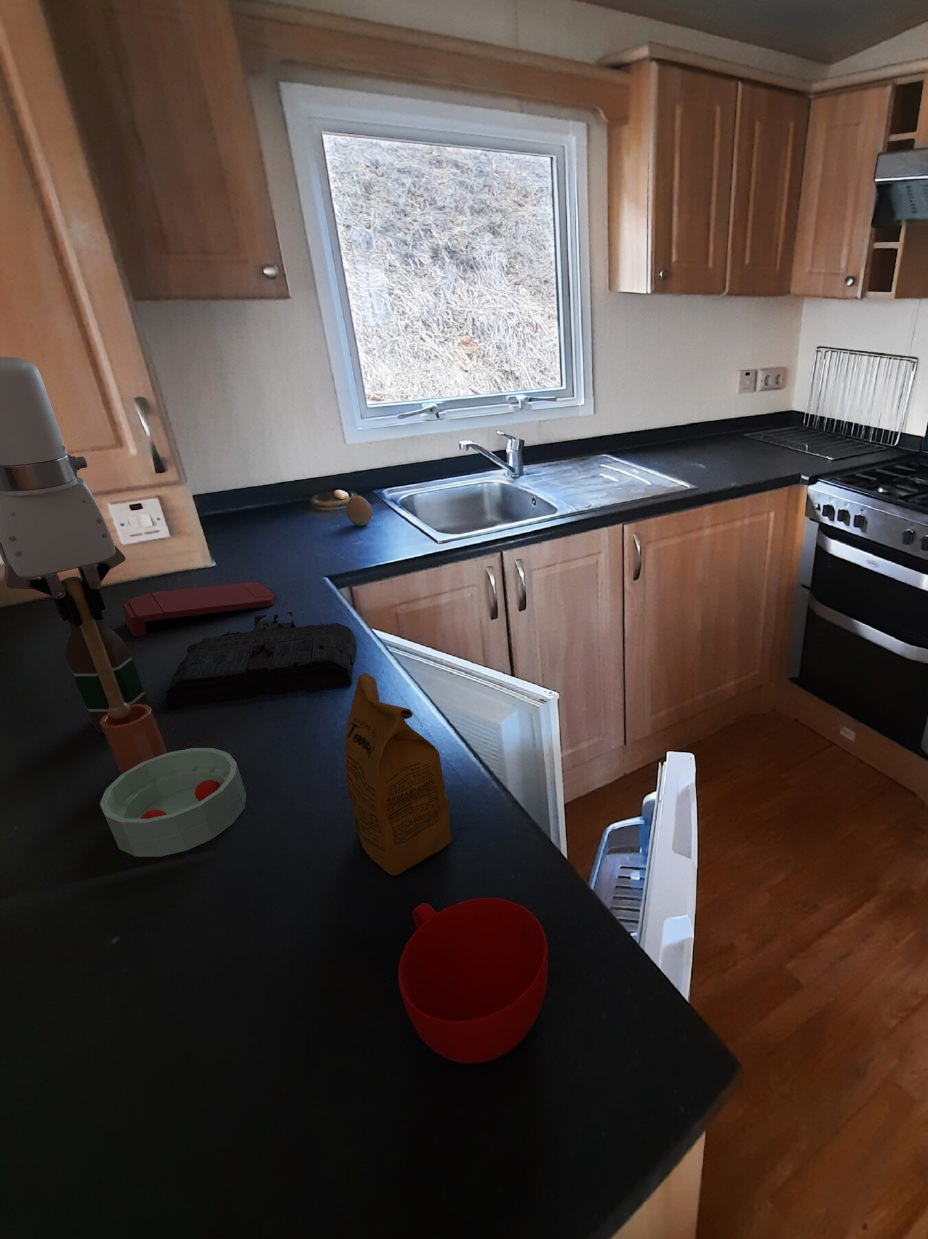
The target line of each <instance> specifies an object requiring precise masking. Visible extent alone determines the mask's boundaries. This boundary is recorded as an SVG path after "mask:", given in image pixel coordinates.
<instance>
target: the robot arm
mask: <svg viewBox="0 0 928 1239" xmlns="http://www.w3.org/2000/svg"><path fill="white" fill-rule="evenodd" d="M87 468H88V462H87V460H86V457H84V456H72V455H71V454H69V452H68V450H67V447H66V444H65V442H64V438H63V435H62V432H61V429H60V426H59V424H58V421H57V418H56V414H55V411H54V409H53V406H52V404H51V400H50V397H49V394H48V391H47V388H46V384H45V383H44V379H43V377H42V374H41V372H40V370H39V368H38V367H37V366H36V365H35V364H34V363H33V362H32V361H29V360H27V359H25V358H20V357H11V356H0V557H1V560H2V562H3V564H4V571H3V572H4V574H3V584H4V585H5V586H6V588H8V589H15V590H35V591H37V592H38V591H39V592H40V593H43V594H45V595H48V596H51V597H52V599H53V601H54V604H55V607H56V609H57V612H58V615H59V617H60V619H61V620H62V621H63V622H65V621H68V623H69V622H70V623H72V624H73V625H74V626H75V627H78V626H81V624H82V621H81V618H80V615H79V613H78V610H77V607H76V605H75V602H74V599H73V597H72V596H71V595H70V594H68V593H67V591H66V590H65V589H64V588H63V586H62V583H61V581H62V580H61V578H60V577H59V574H58V573H63V572H67V571H71V570H76V569H77V571H78V574H79V578H81V580H82V581H81V584H82V587H83V589H84V593H85V596H86V598H87V601H88V604H89V607H90V609H91V612H92V615H93V618H94V619H96V620H101V621H102V620H104V618H105V617H104V615H103V613H102V611H105V610H106V605H105V603H104V599H103V597H102V594H101V591H100V588H101V587H102V582H103V581H104V579H105V577H106V576H107V574H108V573H109V572H110V571H111V569H112V570H113V569H114V568H116V567H117V566H119V565H121V564H122V563H124V562H126V559H127V558H126V555H124V553H123V552H122V551H121V550H120V549H119V548H118V547H117V545H116V544H115V542H114V539H113V536H112V533H111V531H110V529H109V526H108V524H107V522H106V520H105V518H104V515H103V513H102V512H101V511H102V510H101V509H100V507H99V504H98V503H97V501H96V499H95V496H94V495H93V493H92V492H91V490H90V488H89V486H88V485H87V483H86V482H85V480H84V479H83V478H82V477H80V476H78V471H81V470H82V469H87Z"/></svg>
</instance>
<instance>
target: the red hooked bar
mask: <svg viewBox="0 0 928 1239" xmlns="http://www.w3.org/2000/svg"><path fill="white" fill-rule="evenodd" d="M127 601H128V602H125V603H123V605H122V606H123V612H124V620H125V624H126V625H127V627H128V629H129V630H130V633H131V635H132V636H133V637H141V636H146V635H147V630H146V623H147V622H154V621H160V620H161V621H162V620H167V619H169V620H170V619H176V618H183V617H192V616H201V615H208V614H218V613H224V612H233V611H240V610H248V609H249V610H250V609H258V608H264V607H265V608H266V607H273V605H274V604H275V602H276V595H275V594H274V593H273V592H272V591H271V590H270V589H269V588H268V587H267V585H265V584H263V583H259V582H255V581H250V582H240V583H230V584H220V585H210V586H202V587H191V588H182V589H171V590H161V591H152V592H147V593H145V594H143V595H139V596H136V597H134V598H131V599H128V600H127Z"/></svg>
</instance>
